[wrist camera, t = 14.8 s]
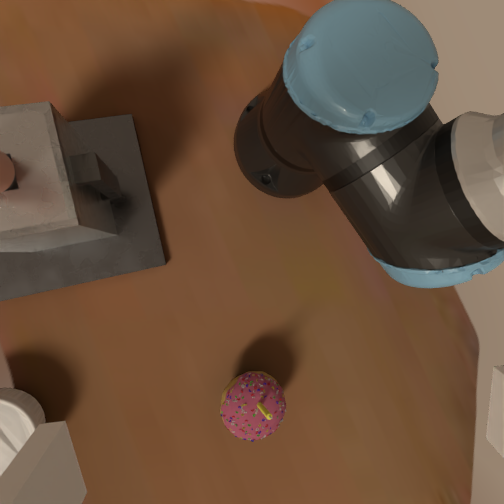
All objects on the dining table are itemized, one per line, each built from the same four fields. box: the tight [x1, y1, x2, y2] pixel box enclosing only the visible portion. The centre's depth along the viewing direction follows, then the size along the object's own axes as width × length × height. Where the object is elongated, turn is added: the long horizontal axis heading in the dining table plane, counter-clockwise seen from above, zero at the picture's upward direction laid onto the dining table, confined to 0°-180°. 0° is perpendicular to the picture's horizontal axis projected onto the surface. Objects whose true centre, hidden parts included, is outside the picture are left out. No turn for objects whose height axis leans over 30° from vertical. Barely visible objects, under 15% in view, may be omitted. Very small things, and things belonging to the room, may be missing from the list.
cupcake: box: [220, 371, 286, 442], centre depth 41 cm, size 9×8×12 cm
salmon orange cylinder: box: [0, 151, 19, 193], centre depth 28 cm, size 4×4×24 cm
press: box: [0, 101, 166, 301], centre depth 34 cm, size 20×20×17 cm
